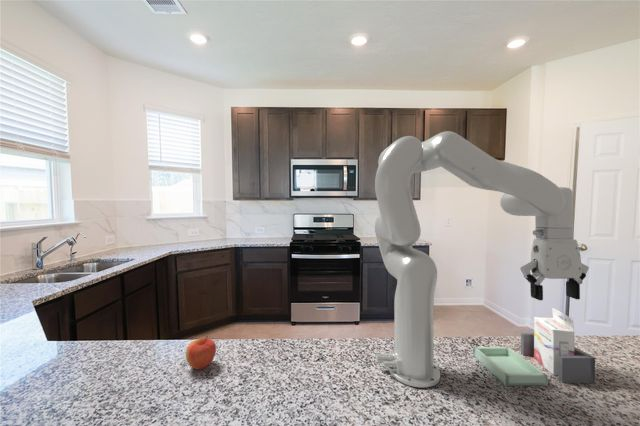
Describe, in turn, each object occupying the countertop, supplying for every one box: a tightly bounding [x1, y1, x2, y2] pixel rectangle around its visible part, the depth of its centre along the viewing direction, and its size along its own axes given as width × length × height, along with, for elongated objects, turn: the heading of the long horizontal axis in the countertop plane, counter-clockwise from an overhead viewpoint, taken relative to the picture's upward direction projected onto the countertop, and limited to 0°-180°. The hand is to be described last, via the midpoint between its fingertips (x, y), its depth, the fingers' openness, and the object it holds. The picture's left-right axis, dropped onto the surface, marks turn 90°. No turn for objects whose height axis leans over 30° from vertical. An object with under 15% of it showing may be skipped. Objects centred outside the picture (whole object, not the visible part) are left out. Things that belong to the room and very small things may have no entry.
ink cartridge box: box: [533, 307, 575, 376], centre depth 70 cm, size 9×5×15 cm, turn 168°
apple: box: [185, 335, 217, 371], centre depth 70 cm, size 7×7×8 cm
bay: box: [520, 332, 596, 384], centre depth 70 cm, size 8×13×6 cm, turn 0°
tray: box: [472, 346, 548, 387], centre depth 69 cm, size 10×13×2 cm
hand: (554, 298), depth 70 cm, fingers open, 9 cm apart
